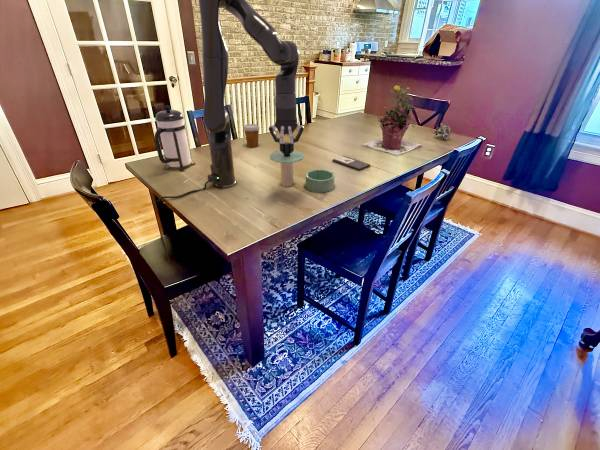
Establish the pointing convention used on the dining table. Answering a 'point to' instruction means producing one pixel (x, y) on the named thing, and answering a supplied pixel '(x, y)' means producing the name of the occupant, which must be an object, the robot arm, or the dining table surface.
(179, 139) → the coffee press
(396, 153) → the potted flower
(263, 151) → the dining table surface
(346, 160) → the chocolate bar
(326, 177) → the pot
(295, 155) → the lid
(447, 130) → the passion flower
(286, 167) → the light brown hollow cylinder
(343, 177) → the dining table surface
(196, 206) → the dining table surface
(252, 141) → the disposable coffee cup
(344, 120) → the dining table surface
